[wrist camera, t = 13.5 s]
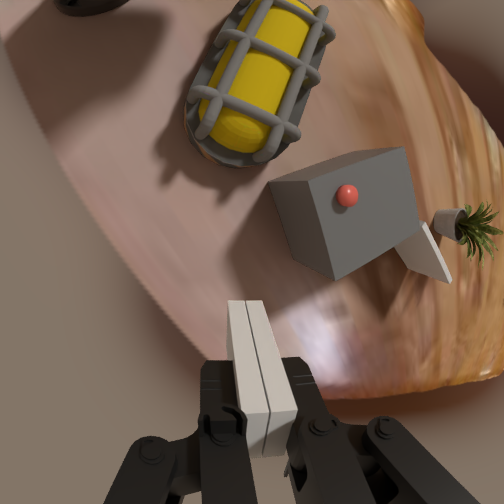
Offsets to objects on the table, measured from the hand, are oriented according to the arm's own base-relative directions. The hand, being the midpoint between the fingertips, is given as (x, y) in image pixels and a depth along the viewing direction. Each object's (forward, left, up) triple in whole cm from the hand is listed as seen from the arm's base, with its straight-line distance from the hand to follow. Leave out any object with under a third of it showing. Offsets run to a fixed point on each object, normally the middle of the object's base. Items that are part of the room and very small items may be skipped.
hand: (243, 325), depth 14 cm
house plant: (+16, +48, -26) cm, 57 cm away
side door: (+15, +34, -25) cm, 45 cm away
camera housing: (+3, +21, -25) cm, 33 cm away
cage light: (-19, +17, -26) cm, 36 cm away
